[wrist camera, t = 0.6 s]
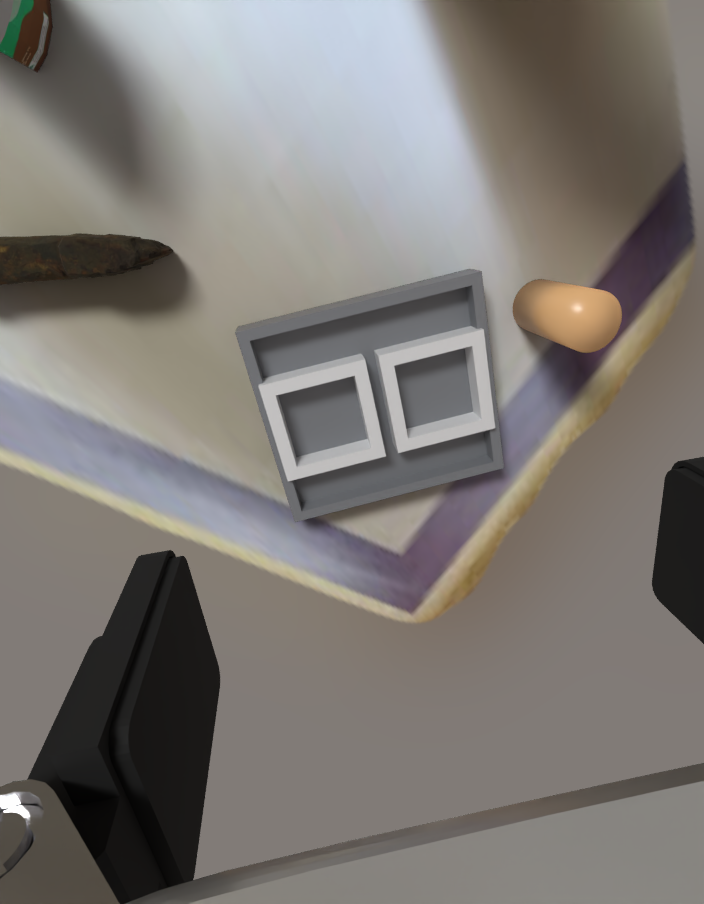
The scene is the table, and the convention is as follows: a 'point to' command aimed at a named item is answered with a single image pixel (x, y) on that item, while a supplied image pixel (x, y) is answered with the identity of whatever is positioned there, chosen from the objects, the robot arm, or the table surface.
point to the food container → (25, 31)
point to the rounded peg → (568, 314)
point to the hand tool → (74, 256)
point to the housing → (377, 393)
